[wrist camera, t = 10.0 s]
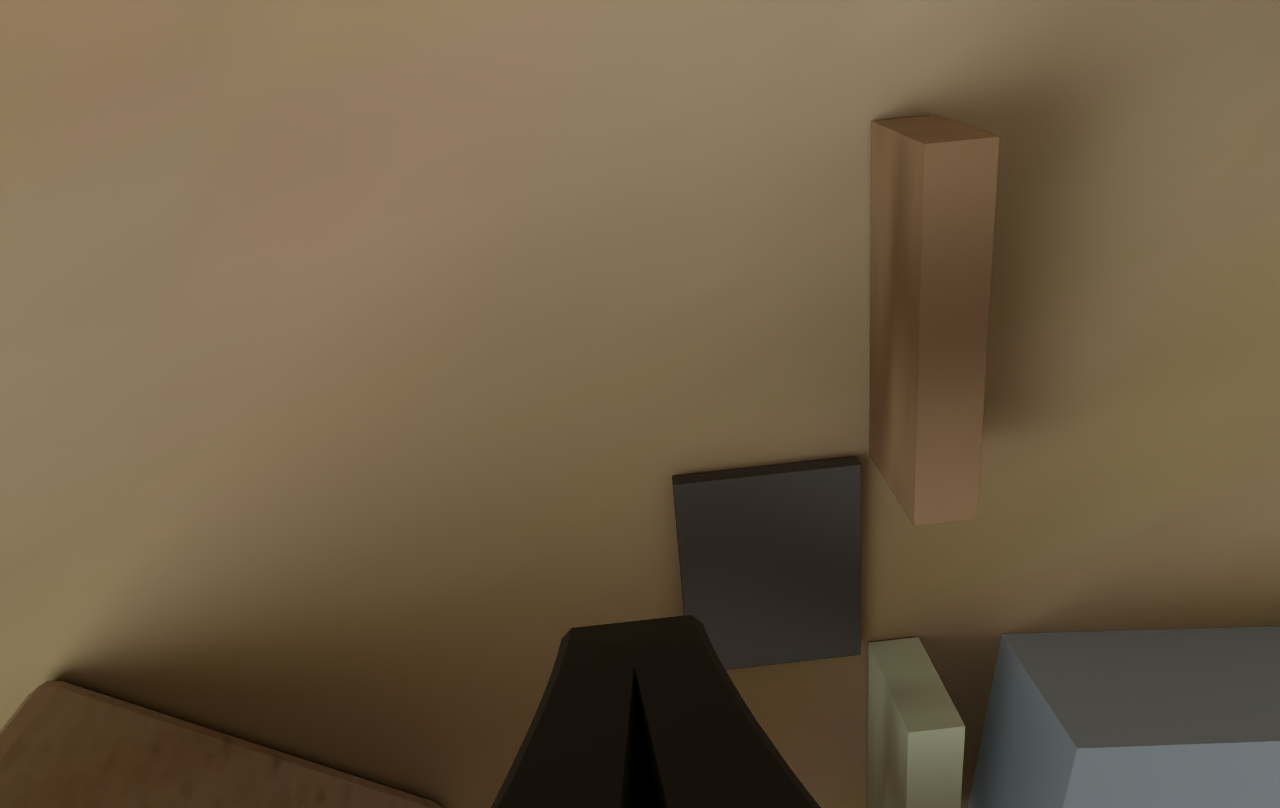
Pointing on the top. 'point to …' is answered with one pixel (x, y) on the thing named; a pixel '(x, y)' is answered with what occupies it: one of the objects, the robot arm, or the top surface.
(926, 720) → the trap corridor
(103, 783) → the wooden block
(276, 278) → the top surface
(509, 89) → the top surface
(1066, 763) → the slate block
